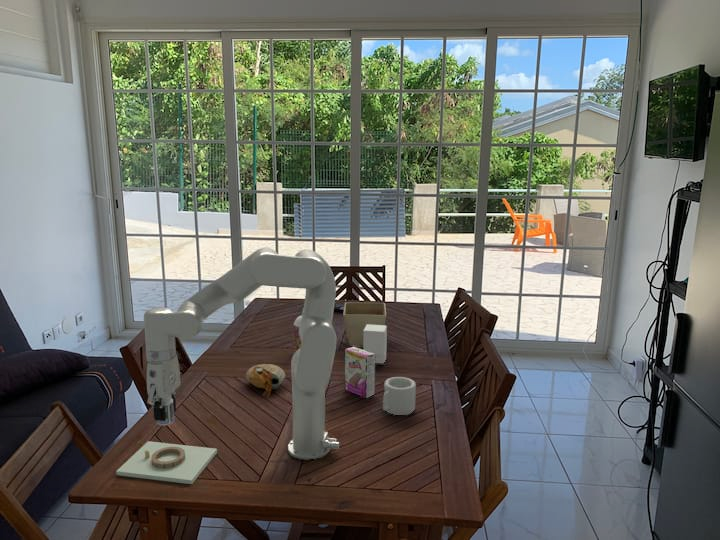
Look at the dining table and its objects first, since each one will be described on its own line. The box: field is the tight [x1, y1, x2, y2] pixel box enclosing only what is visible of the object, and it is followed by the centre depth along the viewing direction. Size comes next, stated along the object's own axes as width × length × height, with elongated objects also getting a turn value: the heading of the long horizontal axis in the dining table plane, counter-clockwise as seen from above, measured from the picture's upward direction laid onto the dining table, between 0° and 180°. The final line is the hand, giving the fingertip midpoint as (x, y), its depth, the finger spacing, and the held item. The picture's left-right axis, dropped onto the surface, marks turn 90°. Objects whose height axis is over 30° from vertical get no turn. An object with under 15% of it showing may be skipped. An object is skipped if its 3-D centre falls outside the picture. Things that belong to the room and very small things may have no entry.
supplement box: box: [362, 324, 388, 363], centre depth 231 cm, size 9×9×15 cm
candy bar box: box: [344, 346, 376, 399], centre depth 201 cm, size 11×5×16 cm, turn 47°
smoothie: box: [293, 314, 302, 352], centre depth 239 cm, size 8×8×20 cm
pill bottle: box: [156, 394, 175, 426], centre depth 152 cm, size 5×5×8 cm
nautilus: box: [245, 363, 286, 399], centre depth 204 cm, size 8×22×15 cm
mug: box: [382, 376, 417, 416], centre depth 188 cm, size 14×11×10 cm
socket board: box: [116, 440, 218, 485], centre depth 156 cm, size 22×16×3 cm
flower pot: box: [342, 301, 387, 346], centre depth 253 cm, size 19×19×17 cm
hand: (165, 414), depth 153 cm, fingers closed on pill bottle, 4 cm apart
